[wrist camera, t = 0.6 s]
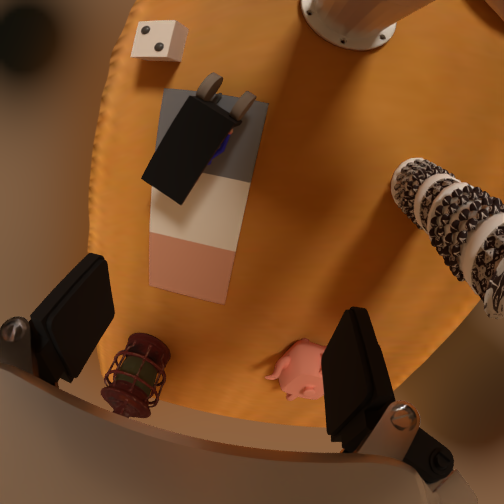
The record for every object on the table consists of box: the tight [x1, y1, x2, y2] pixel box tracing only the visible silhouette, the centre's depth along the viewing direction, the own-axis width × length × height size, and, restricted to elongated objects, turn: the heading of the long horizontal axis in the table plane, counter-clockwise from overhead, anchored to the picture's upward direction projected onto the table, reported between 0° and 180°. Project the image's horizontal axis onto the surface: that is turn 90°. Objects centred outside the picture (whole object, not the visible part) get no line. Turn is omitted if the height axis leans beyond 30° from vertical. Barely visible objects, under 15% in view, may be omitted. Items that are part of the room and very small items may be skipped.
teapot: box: [265, 338, 327, 401], centre depth 49 cm, size 14×12×10 cm
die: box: [131, 20, 189, 62], centre depth 26 cm, size 5×5×5 cm
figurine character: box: [141, 73, 256, 205], centre depth 31 cm, size 7×8×15 cm
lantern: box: [101, 333, 170, 418], centre depth 45 cm, size 12×12×30 cm
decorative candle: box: [391, 158, 504, 319], centre depth 23 cm, size 9×9×25 cm
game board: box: [149, 88, 269, 305], centre depth 39 cm, size 33×14×1 cm, turn 168°
